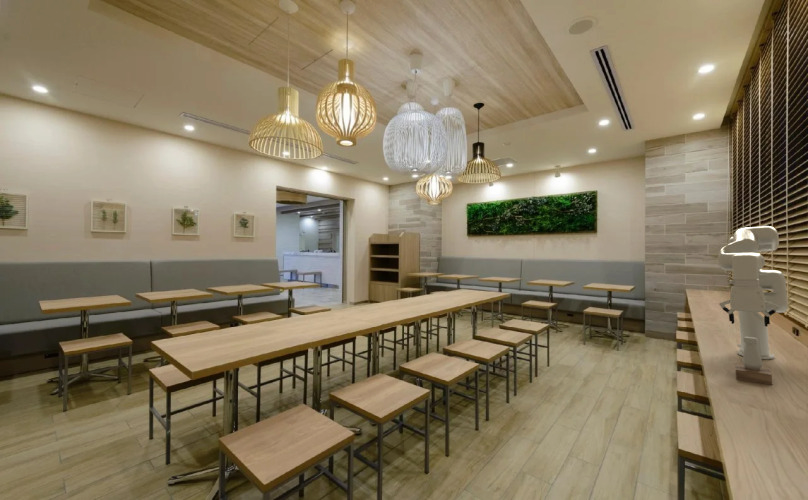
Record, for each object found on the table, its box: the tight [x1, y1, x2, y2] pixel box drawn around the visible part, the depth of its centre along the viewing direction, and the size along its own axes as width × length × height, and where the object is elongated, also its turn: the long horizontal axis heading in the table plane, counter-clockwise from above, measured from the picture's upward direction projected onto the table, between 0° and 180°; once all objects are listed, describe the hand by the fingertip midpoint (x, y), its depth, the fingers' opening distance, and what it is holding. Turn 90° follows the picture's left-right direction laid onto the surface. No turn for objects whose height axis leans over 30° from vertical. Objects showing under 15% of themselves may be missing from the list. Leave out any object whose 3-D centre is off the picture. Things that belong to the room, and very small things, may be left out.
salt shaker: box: [741, 337, 763, 370], centre depth 138 cm, size 6×6×13 cm
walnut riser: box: [735, 363, 773, 386], centre depth 138 cm, size 10×10×4 cm
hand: (749, 324), depth 139 cm, fingers open, 9 cm apart
